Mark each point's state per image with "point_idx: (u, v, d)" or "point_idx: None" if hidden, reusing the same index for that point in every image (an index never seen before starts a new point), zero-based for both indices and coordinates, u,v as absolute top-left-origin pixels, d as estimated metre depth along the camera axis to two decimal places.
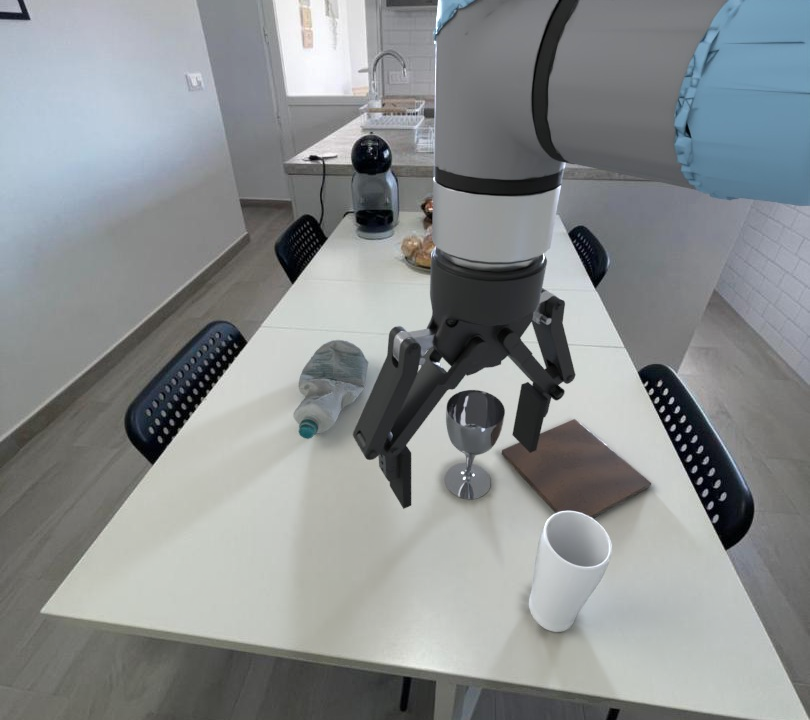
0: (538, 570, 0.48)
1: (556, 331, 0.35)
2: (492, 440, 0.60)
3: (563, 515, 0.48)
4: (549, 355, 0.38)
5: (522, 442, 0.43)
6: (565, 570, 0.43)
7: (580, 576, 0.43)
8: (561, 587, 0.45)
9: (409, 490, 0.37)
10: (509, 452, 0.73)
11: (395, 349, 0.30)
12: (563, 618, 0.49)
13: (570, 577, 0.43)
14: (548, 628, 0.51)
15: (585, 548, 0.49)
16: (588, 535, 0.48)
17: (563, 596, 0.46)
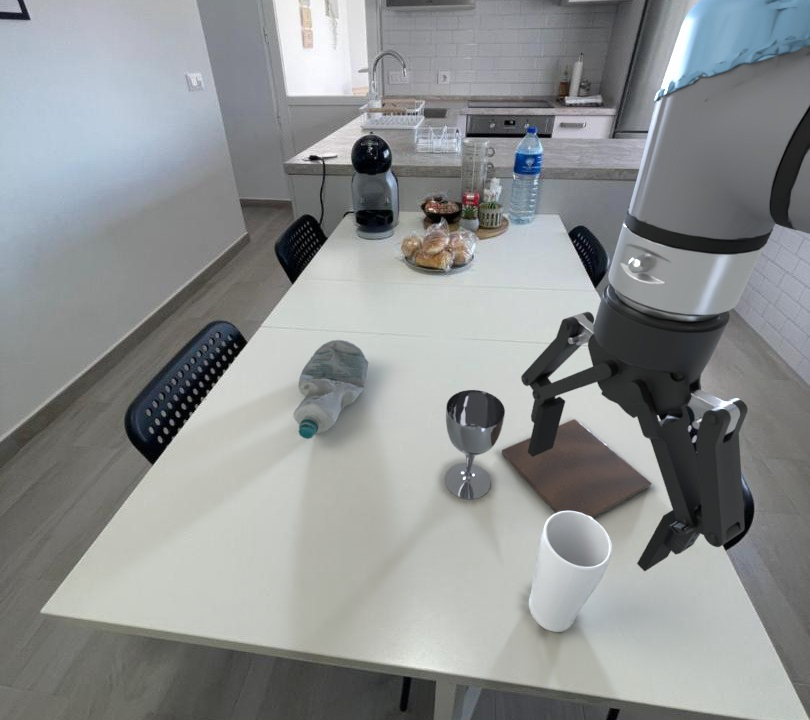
0: (538, 570, 0.48)
1: None
2: (492, 440, 0.60)
3: (563, 515, 0.48)
4: (552, 367, 0.41)
5: (544, 449, 0.46)
6: (565, 570, 0.43)
7: (580, 576, 0.43)
8: (561, 587, 0.45)
9: None
10: (509, 452, 0.73)
11: (731, 425, 0.28)
12: (563, 618, 0.49)
13: (570, 577, 0.43)
14: (548, 628, 0.51)
15: (585, 548, 0.49)
16: (588, 535, 0.48)
17: (563, 596, 0.46)
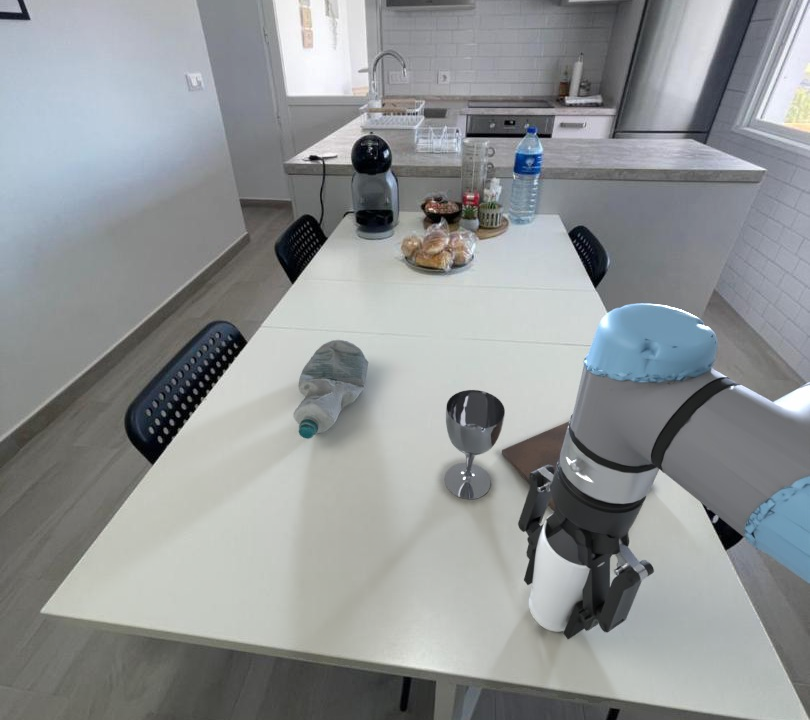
0: (537, 569, 0.48)
1: None
2: (492, 440, 0.60)
3: None
4: (538, 513, 0.50)
5: None
6: (564, 569, 0.43)
7: (579, 575, 0.43)
8: (560, 586, 0.45)
9: None
10: (509, 452, 0.73)
11: None
12: (563, 617, 0.49)
13: (569, 576, 0.44)
14: (548, 628, 0.51)
15: None
16: None
17: (562, 595, 0.46)
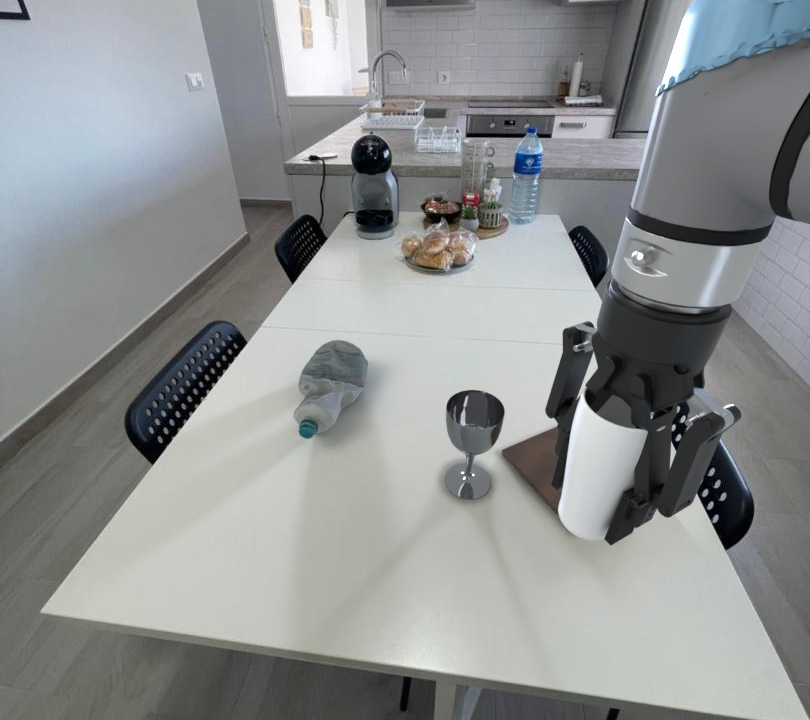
0: (573, 453, 0.38)
1: None
2: (492, 440, 0.60)
3: None
4: (571, 390, 0.40)
5: None
6: (613, 437, 0.34)
7: (632, 444, 0.33)
8: (605, 465, 0.35)
9: None
10: (509, 452, 0.73)
11: (721, 431, 0.29)
12: (605, 517, 0.39)
13: (619, 447, 0.34)
14: (584, 536, 0.41)
15: None
16: None
17: (607, 480, 0.36)
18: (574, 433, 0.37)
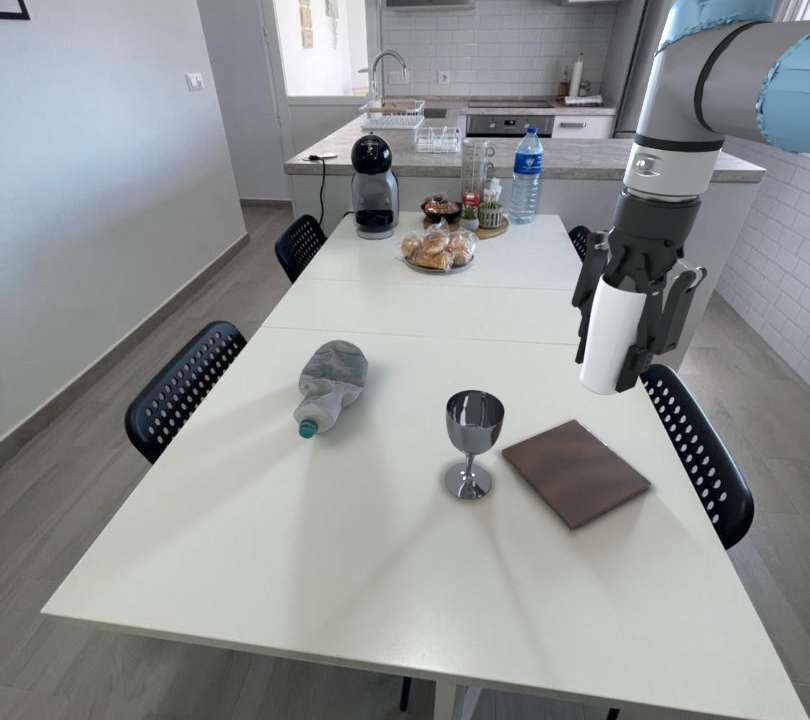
0: (594, 322, 0.53)
1: None
2: (492, 440, 0.60)
3: None
4: (591, 283, 0.56)
5: None
6: (622, 301, 0.49)
7: (635, 305, 0.49)
8: (617, 325, 0.51)
9: None
10: (509, 452, 0.73)
11: (694, 283, 0.44)
12: (615, 372, 0.55)
13: (627, 308, 0.49)
14: (600, 390, 0.57)
15: None
16: None
17: (618, 337, 0.51)
18: (594, 307, 0.53)
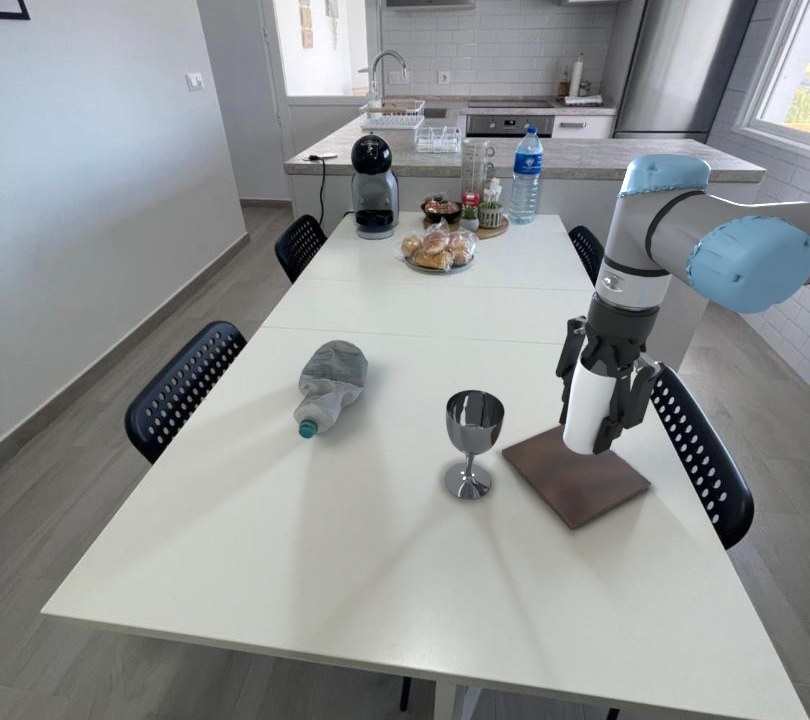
0: (573, 395, 0.62)
1: None
2: (492, 440, 0.60)
3: None
4: (572, 358, 0.64)
5: None
6: (596, 383, 0.57)
7: (607, 386, 0.57)
8: (592, 401, 0.59)
9: None
10: (509, 452, 0.73)
11: (654, 375, 0.53)
12: (592, 437, 0.63)
13: (600, 388, 0.58)
14: (579, 451, 0.65)
15: None
16: None
17: (593, 410, 0.60)
18: (573, 383, 0.61)
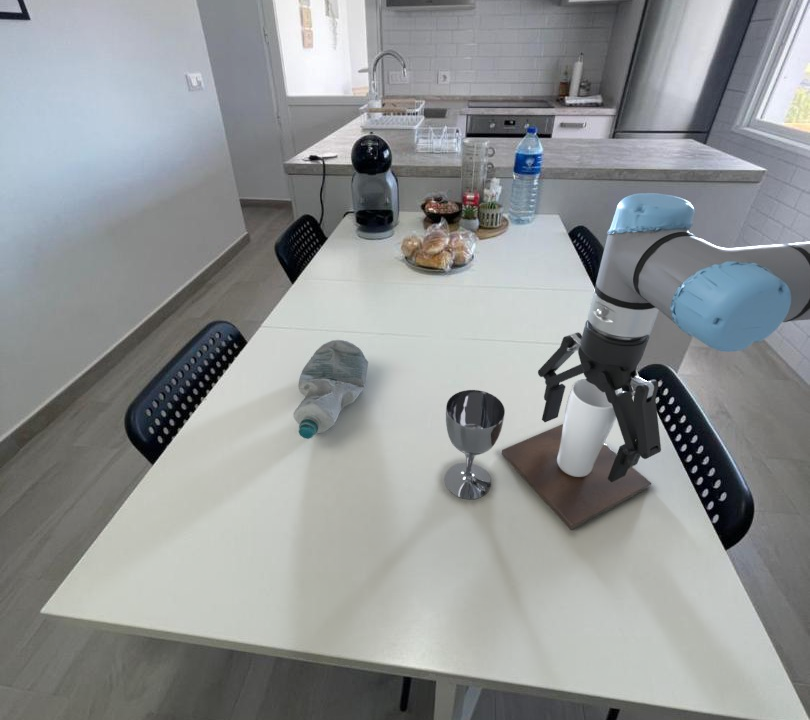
0: (566, 422, 0.64)
1: None
2: (492, 440, 0.60)
3: (585, 382, 0.65)
4: (557, 365, 0.68)
5: (552, 418, 0.72)
6: (588, 412, 0.60)
7: (599, 415, 0.60)
8: (584, 428, 0.62)
9: None
10: (509, 452, 0.73)
11: (650, 393, 0.54)
12: (584, 461, 0.66)
13: (592, 417, 0.60)
14: (572, 473, 0.68)
15: None
16: (603, 397, 0.65)
17: (585, 437, 0.63)
18: (567, 410, 0.64)
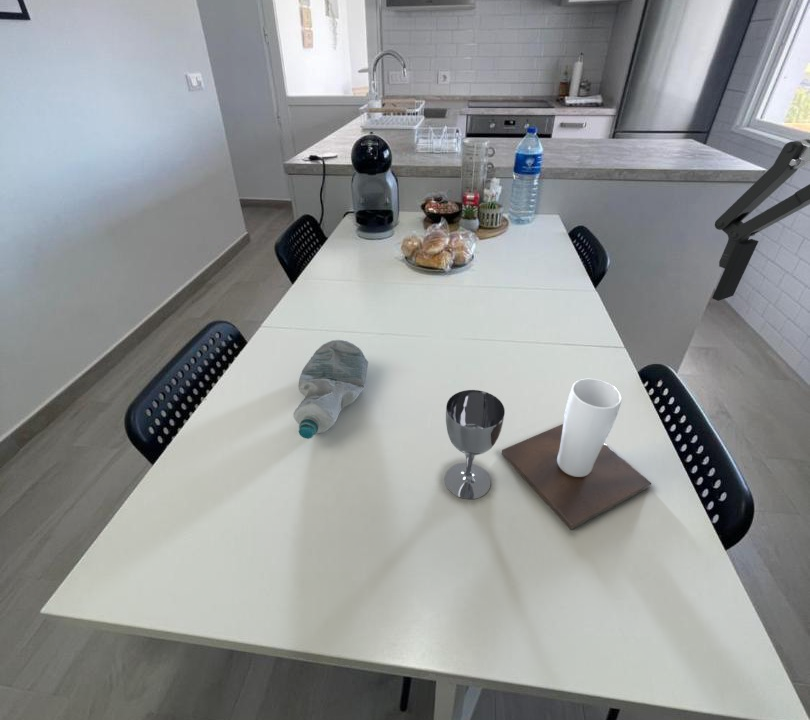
0: (567, 422, 0.64)
1: None
2: (492, 440, 0.60)
3: (585, 382, 0.65)
4: (753, 205, 0.46)
5: (727, 295, 0.51)
6: (588, 412, 0.60)
7: (599, 415, 0.60)
8: (584, 428, 0.62)
9: None
10: (509, 452, 0.73)
11: None
12: (584, 461, 0.66)
13: (592, 417, 0.60)
14: (572, 473, 0.68)
15: None
16: (603, 397, 0.65)
17: (586, 437, 0.63)
18: (567, 410, 0.64)
